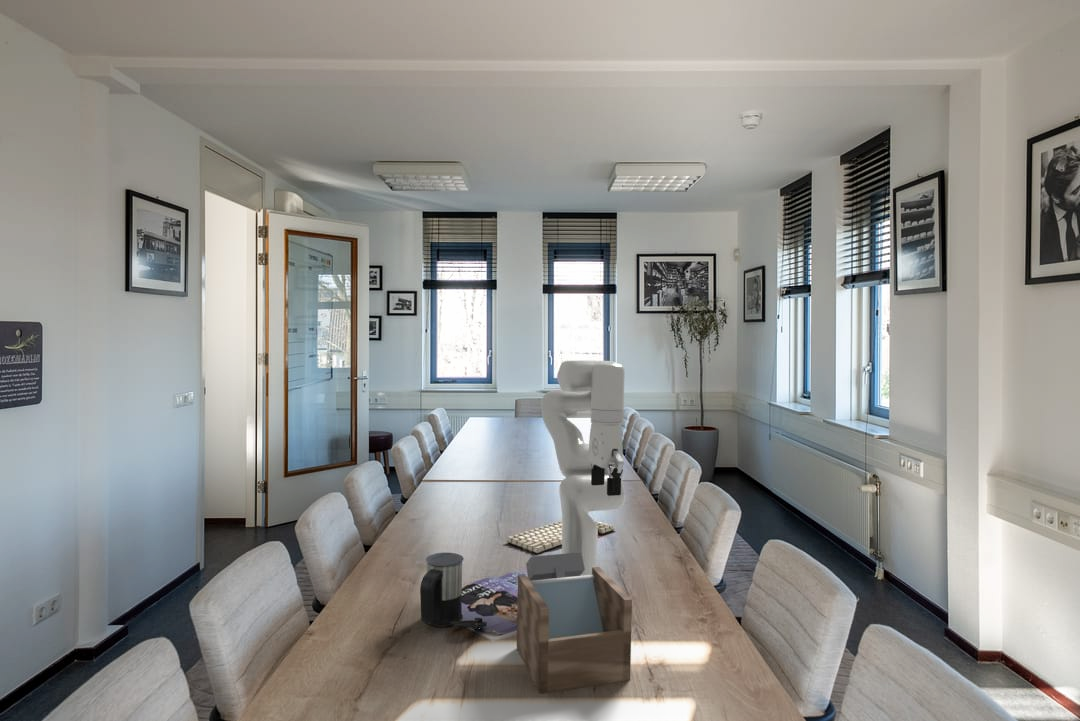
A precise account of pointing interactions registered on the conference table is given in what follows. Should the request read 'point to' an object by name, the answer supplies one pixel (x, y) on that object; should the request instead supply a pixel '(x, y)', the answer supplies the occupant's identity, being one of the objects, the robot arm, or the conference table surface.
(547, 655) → the stand
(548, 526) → the mechanical keyboard
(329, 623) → the conference table surface
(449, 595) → the milk frother
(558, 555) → the trapdoor
